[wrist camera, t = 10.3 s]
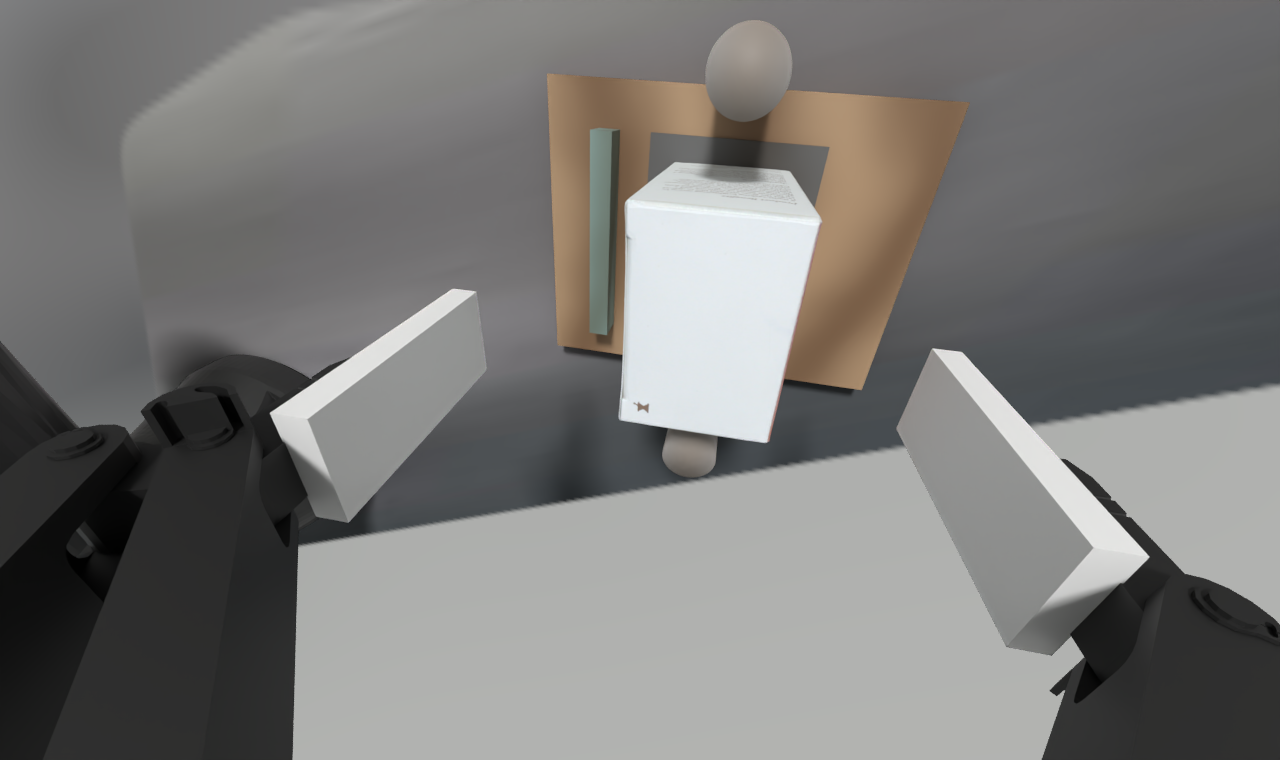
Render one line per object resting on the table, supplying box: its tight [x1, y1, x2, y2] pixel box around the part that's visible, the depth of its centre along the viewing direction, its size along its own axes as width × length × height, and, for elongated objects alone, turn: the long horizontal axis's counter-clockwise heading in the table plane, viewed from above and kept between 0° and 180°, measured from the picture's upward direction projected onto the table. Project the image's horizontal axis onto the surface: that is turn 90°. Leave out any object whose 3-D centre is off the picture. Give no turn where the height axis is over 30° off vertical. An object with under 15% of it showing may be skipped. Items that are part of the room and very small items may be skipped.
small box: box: [619, 162, 822, 443], centre depth 19 cm, size 8×6×10 cm
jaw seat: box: [547, 20, 970, 477], centre depth 21 cm, size 18×17×9 cm
